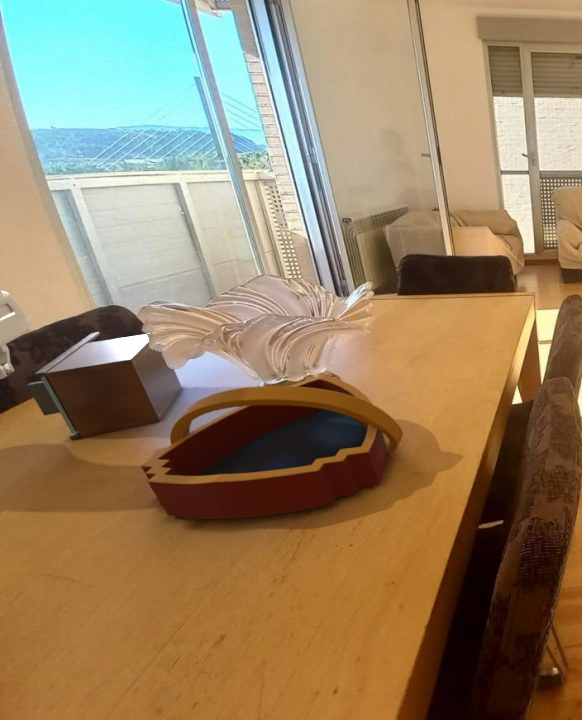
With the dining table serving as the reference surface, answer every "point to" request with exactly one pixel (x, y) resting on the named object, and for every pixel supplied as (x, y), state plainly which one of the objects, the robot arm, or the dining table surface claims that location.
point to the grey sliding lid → (49, 400)
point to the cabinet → (112, 384)
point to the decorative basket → (273, 451)
